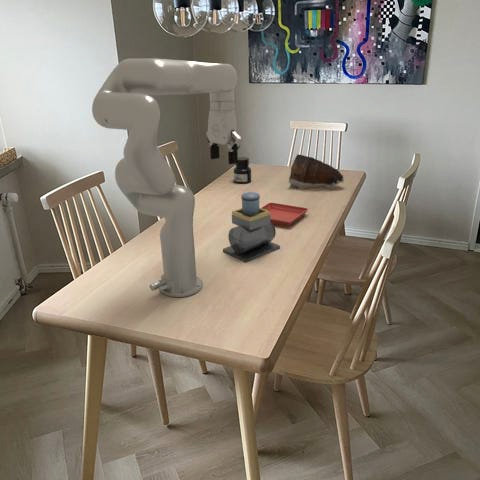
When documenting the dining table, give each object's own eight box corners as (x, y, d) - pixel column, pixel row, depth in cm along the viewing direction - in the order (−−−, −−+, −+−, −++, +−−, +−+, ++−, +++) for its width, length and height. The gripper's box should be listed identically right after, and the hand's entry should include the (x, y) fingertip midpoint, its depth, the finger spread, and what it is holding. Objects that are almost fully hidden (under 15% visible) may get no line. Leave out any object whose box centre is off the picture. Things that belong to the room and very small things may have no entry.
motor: (245, 262, 156) (244, 221, 150) (222, 251, 164) (221, 212, 158) (280, 248, 165) (280, 209, 160) (256, 238, 174) (256, 201, 168)
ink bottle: (229, 182, 241) (228, 159, 236) (240, 178, 248) (239, 155, 243) (245, 185, 236) (244, 161, 231) (255, 181, 242) (255, 157, 237)
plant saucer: (269, 208, 204) (269, 201, 203) (308, 215, 195) (309, 207, 194) (249, 222, 190) (249, 214, 189) (290, 230, 181) (290, 222, 180)
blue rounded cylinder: (250, 219, 156) (249, 199, 153) (238, 214, 160) (237, 195, 157) (263, 214, 159) (263, 194, 156) (251, 210, 164) (251, 191, 161)
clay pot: (346, 168, 215) (293, 155, 221) (337, 200, 220) (286, 186, 226) (349, 164, 228) (300, 152, 235) (341, 194, 234) (293, 181, 240)
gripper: (196, 105, 151) (199, 158, 157) (229, 110, 138) (231, 167, 144) (215, 103, 155) (217, 155, 161) (249, 107, 142) (249, 163, 149)
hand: (223, 161), depth 153 cm, fingers open, 9 cm apart
